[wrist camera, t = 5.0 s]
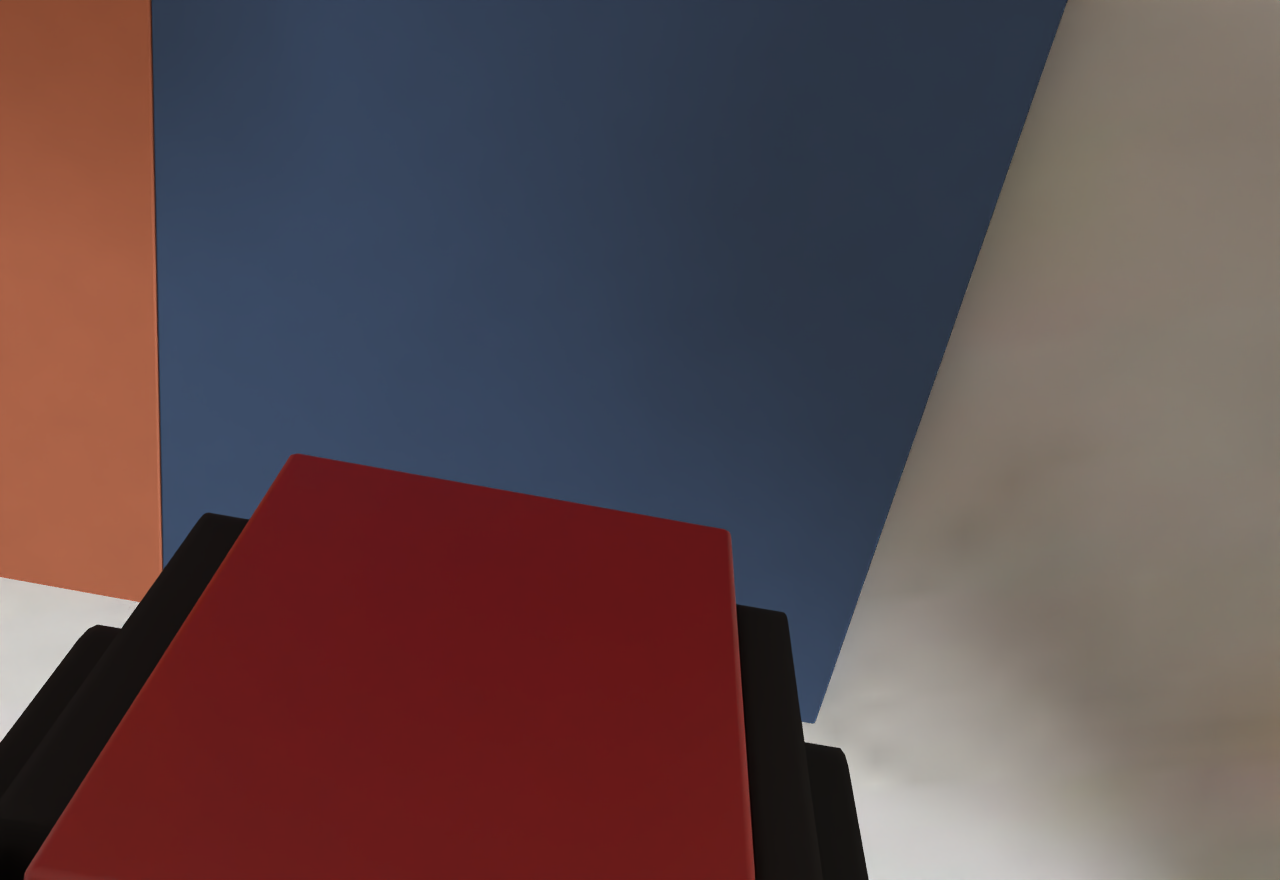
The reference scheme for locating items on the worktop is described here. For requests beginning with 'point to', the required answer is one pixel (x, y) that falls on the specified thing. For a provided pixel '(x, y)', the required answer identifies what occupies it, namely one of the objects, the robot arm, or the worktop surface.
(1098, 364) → the worktop surface
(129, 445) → the mat
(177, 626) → the robot arm
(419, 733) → the red block
